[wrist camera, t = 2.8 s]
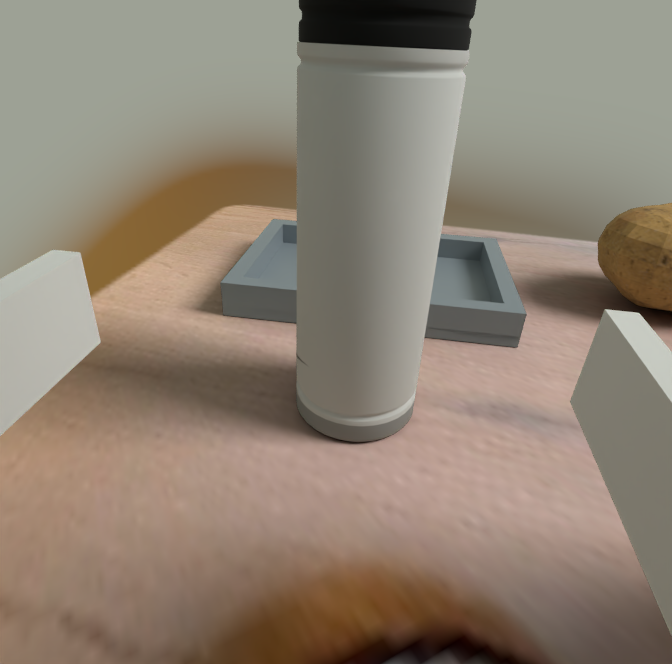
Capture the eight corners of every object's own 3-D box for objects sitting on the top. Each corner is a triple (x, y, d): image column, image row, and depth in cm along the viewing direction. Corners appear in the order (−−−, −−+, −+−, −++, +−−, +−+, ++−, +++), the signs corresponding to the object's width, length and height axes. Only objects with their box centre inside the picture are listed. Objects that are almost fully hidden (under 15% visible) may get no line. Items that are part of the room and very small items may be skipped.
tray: (490, 265, 44) (496, 238, 43) (517, 347, 32) (526, 314, 31) (273, 244, 46) (273, 219, 45) (223, 314, 34) (220, 282, 33)
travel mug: (267, 407, 26) (249, -82, 16) (347, 358, 30) (374, -50, 20) (359, 468, 22) (413, -107, 12) (434, 403, 27) (521, -62, 16)
